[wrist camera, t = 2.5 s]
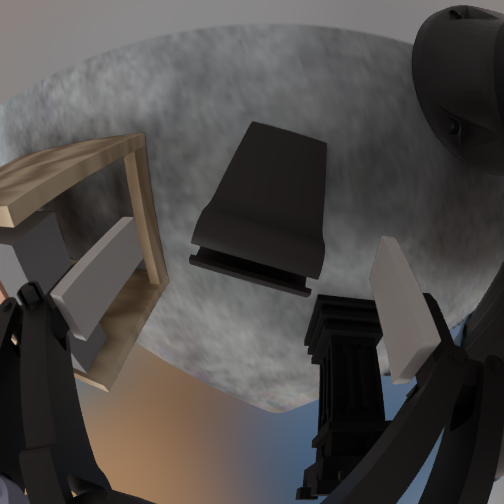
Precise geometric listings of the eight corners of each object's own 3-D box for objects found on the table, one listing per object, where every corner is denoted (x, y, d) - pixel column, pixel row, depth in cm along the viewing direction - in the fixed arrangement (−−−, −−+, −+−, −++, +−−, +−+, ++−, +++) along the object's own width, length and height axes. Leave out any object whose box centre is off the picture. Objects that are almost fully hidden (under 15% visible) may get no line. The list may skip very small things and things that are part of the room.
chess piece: (363, 345, 32) (371, 496, 16) (304, 340, 33) (290, 499, 16) (386, 301, 27) (415, 482, 11) (318, 294, 28) (311, 494, 12)
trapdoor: (54, 211, 14) (12, 245, 10) (107, 338, 20) (86, 373, 17) (-33, 212, 16) (-57, 232, 13) (5, 298, 23) (-12, 319, 19)
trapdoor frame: (144, 132, 21) (7, 206, 9) (168, 281, 31) (109, 392, 18) (19, 156, 24) (-66, 211, 12) (52, 261, 33) (-7, 329, 21)
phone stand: (253, 120, 20) (204, 156, 10) (326, 142, 20) (355, 202, 10) (229, 217, 25) (182, 313, 15) (292, 235, 25) (284, 342, 15)
